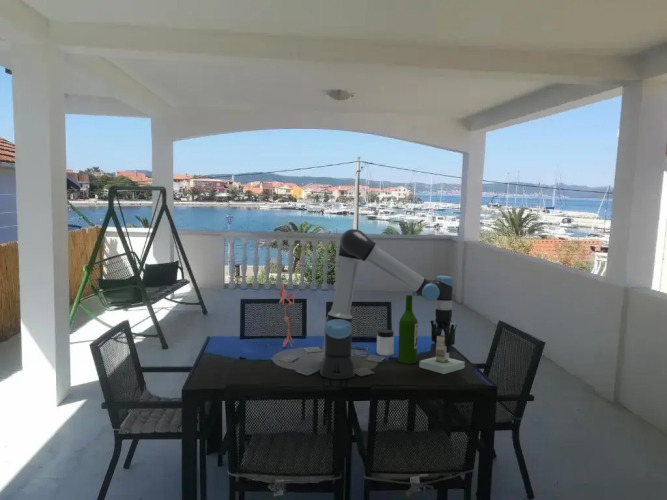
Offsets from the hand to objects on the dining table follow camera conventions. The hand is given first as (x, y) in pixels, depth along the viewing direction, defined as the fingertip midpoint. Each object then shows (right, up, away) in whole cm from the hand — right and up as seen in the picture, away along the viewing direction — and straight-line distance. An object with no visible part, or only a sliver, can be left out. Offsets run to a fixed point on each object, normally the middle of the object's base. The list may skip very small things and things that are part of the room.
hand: (442, 358), depth 230 cm
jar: (-24, -3, +24) cm, 34 cm away
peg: (0, -2, 0) cm, 2 cm away
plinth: (0, -5, 0) cm, 5 cm away
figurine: (-80, -2, +37) cm, 88 cm away
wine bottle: (-15, -4, +10) cm, 18 cm away
